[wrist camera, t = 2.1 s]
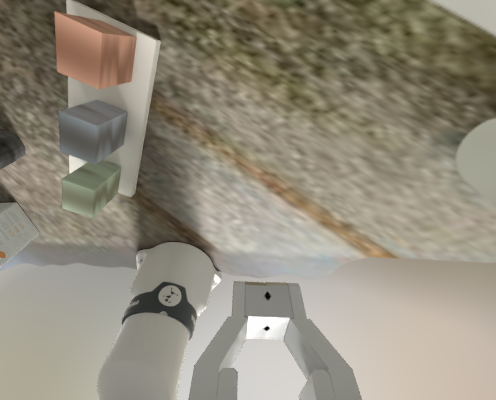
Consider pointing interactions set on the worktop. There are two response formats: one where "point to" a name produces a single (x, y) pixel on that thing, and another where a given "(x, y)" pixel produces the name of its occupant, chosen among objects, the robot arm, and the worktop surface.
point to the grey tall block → (92, 130)
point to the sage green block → (90, 187)
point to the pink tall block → (93, 51)
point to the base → (121, 99)
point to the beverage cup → (10, 148)
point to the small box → (14, 231)
